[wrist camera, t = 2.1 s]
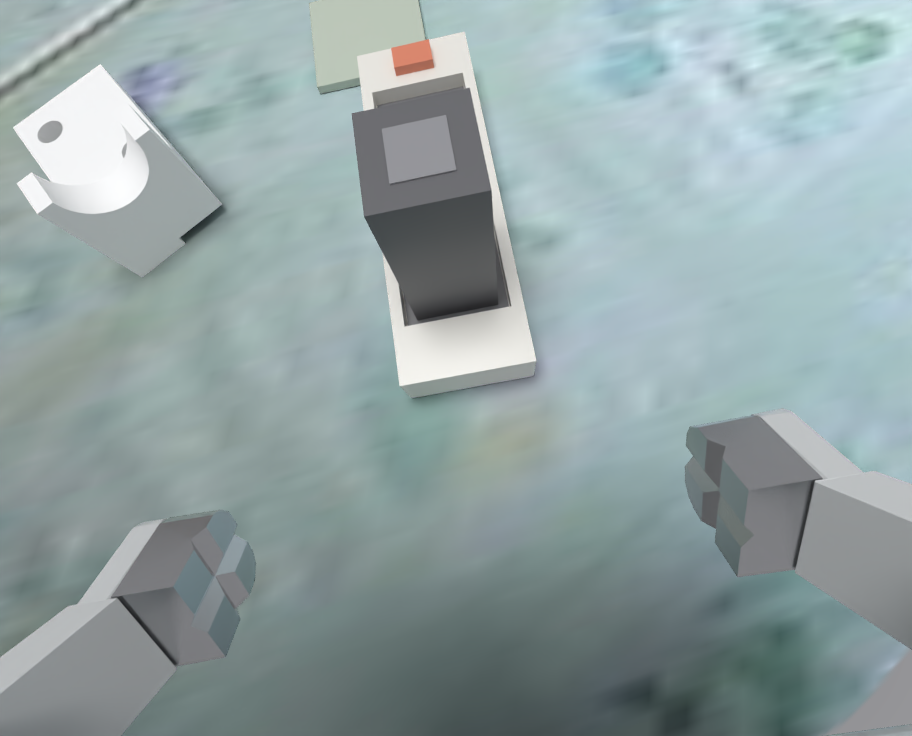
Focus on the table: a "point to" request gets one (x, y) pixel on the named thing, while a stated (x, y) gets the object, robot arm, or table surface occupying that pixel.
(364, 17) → the felt pad
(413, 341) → the power strip
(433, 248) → the grey square pillar
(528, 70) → the table surface
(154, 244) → the bracket
